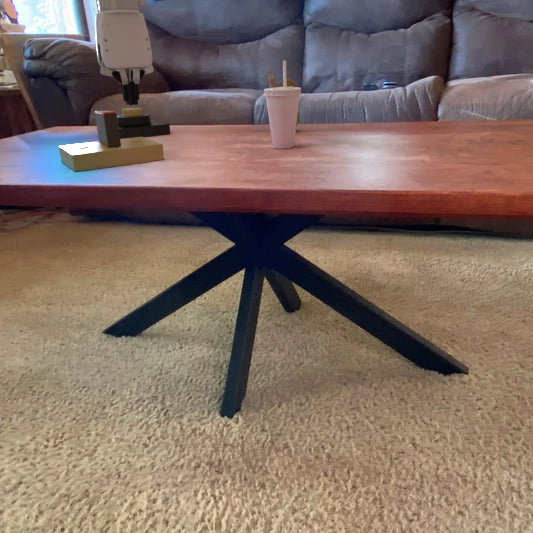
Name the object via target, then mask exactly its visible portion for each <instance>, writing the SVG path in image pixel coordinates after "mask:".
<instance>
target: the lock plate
mask: <svg viewBox="0 0 533 533" xmlns="http://www.w3.org/2000/svg"><path fill="white" fill-rule="evenodd" d="M120 142H121V146H118V147H107V146H104V145H102V144H100V143H99V141H90V142H83V143H74V144H73V143H72V144H65V145H64V144H63V145H59V146H58V150H59V156H60V161H61V162H62V163H63V164H64V165H66V166H67V167H68V168H70V170H72V171H73V172H84V171H91V170H98V169H105V168H113V167H121V166H127V165H134V164H141V163H149V162H156V161H164V160H165V154H164V146H163V143H161V142H158V141H155V140H153V139H150V138H148V137H134V138H125V139H120Z"/></svg>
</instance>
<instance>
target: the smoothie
mask: <svg viewBox="0 0 533 533" xmlns="http://www.w3.org/2000/svg"><path fill="white" fill-rule="evenodd" d="M287 78H288V77H287V60H282V79H283V87H277V86H276V88H270V87H267V88H264V89H263V96H264V97H265V100H266V101H265V102H266V108H267V114H268V122H269V127H270V128H269V129H270V135H271V142H272V148H274V149H292V148H294V147H295V142H296V132H297V126H296V124H297V114H298V113H299V104H300V95H302V88H301V87H300V86H299V87H298V86H297V87H287ZM291 147H292V148H291Z"/></svg>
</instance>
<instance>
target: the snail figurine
mask: <svg viewBox="0 0 533 533" xmlns="http://www.w3.org/2000/svg"><path fill="white" fill-rule="evenodd" d="M267 73H268V74H271V73H272V70H271V69H267ZM267 79H268V84H269V88H276V87H283V78H282V79H281V80H280V81H279V82H278V83H277V85H276V78H275V76H274V75H269V76H268V78H267ZM287 87H298V84H297V83H296V81H295V80H293V79H292V78H288V77H287ZM299 123H300V113H299V112H298V114H297V124H296V127H298V126H299Z"/></svg>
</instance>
